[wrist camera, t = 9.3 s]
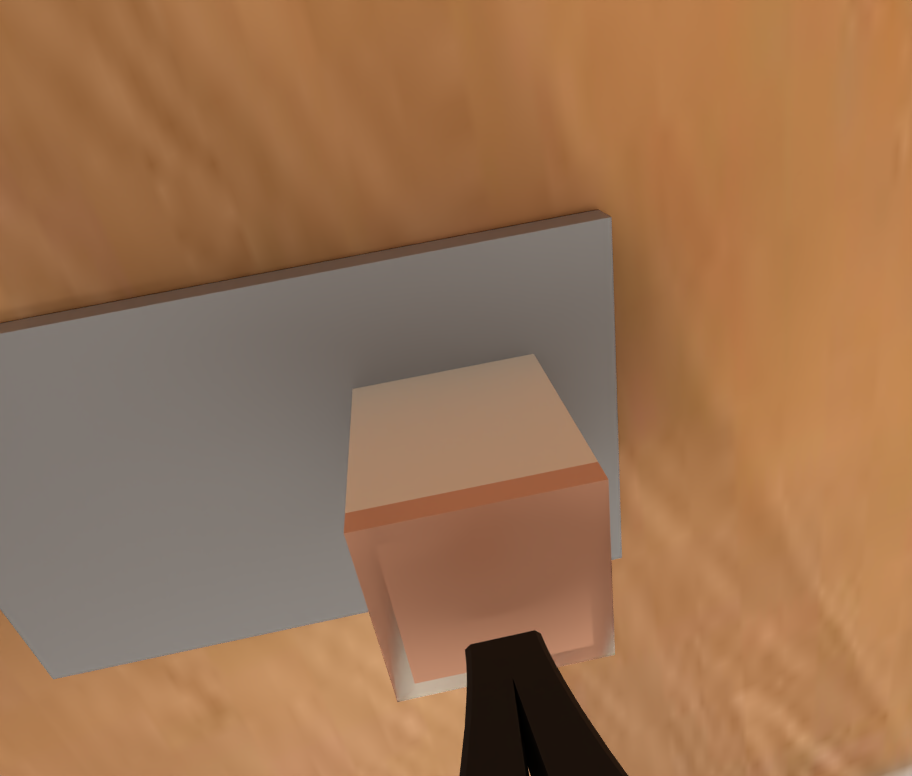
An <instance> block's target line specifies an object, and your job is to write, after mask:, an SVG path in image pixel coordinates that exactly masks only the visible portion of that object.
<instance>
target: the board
mask: <svg viewBox="0 0 912 776" xmlns="http://www.w3.org/2000/svg"><path fill="white" fill-rule="evenodd" d="M530 354H534V355H535V357H536V358H537V360H538V362H539V364H540V365H541V367H542V369H543V370H544V372H545V374H546V375H547V377H548V379H549V380H550V382H551V384H552V385H553V387H554V389H555V390H556V392H557V394H558V395H559V397H560V399H561V400H562V402H563V404H564V405H565V407H566V409H567V410H568V412H569V414H570V416H571V417H572V419H573V421H574V422H575V424H576V426H577V427H578V429H579V431H580V432H581V434H582V436H583V437H584V439H585V441H586V442H587V444H588V446H589V447H590V449H591V451H592V452H593V454H594V456H595V457H596V459H597V461H598V463H599V464H600V466H601V468H602V469H603V471H604V473H605V474H606V476H607V478H608V479H609V507H610V534H611V560H613V559H618V558H622V547H621V514H620V481H619V448H618V415H617V382H616V350H615V317H614V284H613V251H612V218H611V217H610V216H609V215H607V214H605V213H603V212H602V211H600V210H594V211H589V212H583V213H578V214H573V215H567V216H562V217H557V218H552V219H546V220H541V221H536V222H531V223H525V224H520V225H515V226H510V227H504V228H499V229H494V230H489V231H483V232H478V233H473V234H468V235H462V236H457V237H452V238H447V239H441V240H436V241H431V242H426V243H420V244H415V245H410V246H404V247H399V248H394V249H389V250H383V251H378V252H373V253H368V254H362V255H357V256H352V257H347V258H341V259H336V260H331V261H326V262H320V263H315V264H310V265H305V266H299V267H294V268H289V269H284V270H278V271H273V272H268V273H263V274H257V275H252V276H247V277H241V278H236V279H231V280H226V281H220V282H215V283H210V284H205V285H199V286H194V287H189V288H184V289H178V290H173V291H168V292H163V293H157V294H152V295H147V296H142V297H136V298H131V299H126V300H121V301H115V302H110V303H105V304H100V305H94V306H89V307H84V308H78V309H73V310H68V311H63V312H57V313H52V314H47V315H42V316H36V317H31V318H26V319H21V320H15V321H10V322H5V323H0V609H1V611H2V612H3V613H4V615H5V616H6V617H7V619H8V620H9V621H10V623H11V624H12V625H13V627H14V628H15V629H16V631H17V632H18V633H19V635H20V636H21V637H22V639H23V640H24V641H25V643H26V644H27V645H28V647H29V648H30V649H31V650H32V652H33V653H34V654H35V656H36V657H37V658H38V660H39V661H40V662H41V664H42V665H43V666H44V668H45V669H46V670H47V672H48V673H49V674H50V676H51V677H52V678H53V679H57V678H62V677H66V676H71V675H76V674H80V673H85V672H90V671H94V670H99V669H104V668H108V667H113V666H118V665H122V664H127V663H132V662H136V661H141V660H146V659H150V658H155V657H160V656H164V655H169V654H174V653H178V652H183V651H188V650H192V649H197V648H202V647H207V646H211V645H216V644H221V643H225V642H230V641H235V640H239V639H244V638H249V637H253V636H258V635H263V634H267V633H272V632H277V631H281V630H286V629H291V628H295V627H300V626H305V625H309V624H314V623H319V622H323V621H328V620H333V619H337V618H342V617H347V616H351V615H356V614H361V613H365V612H369V611H368V608H367V605H366V602H365V598H364V595H363V592H362V589H361V586H360V583H359V580H358V577H357V573H356V570H355V567H354V564H353V561H352V558H351V555H350V552H349V548H348V545H347V542H346V539H345V536H344V521H345V504H346V488H347V472H348V455H349V439H350V423H351V407H352V390H353V389H355V388H360V387H366V386H371V385H376V384H381V383H386V382H391V381H396V380H401V379H407V378H412V377H417V376H422V375H427V374H432V373H437V372H443V371H448V370H453V369H458V368H463V367H468V366H473V365H478V364H484V363H489V362H494V361H499V360H504V359H509V358H514V357H520V356H525V355H530Z"/></svg>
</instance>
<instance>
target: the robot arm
mask: <svg viewBox="0 0 912 776" xmlns="http://www.w3.org/2000/svg"><path fill="white" fill-rule="evenodd" d="M465 656H466V670H467V697H466V716H465V730H464V739H463V749H462V758H461V768H460V776H529V772H530V775H531V776H628V775H627V773H626V772H625V771H624V769H623V768H622V767H621V765H620V764H619V762H618V761H617V760H616V758H615V757H614V755H613V754H612V753H611V751H610V750H609V748H608V747H607V745H606V744H605V742H604V741H603V740H602V738H601V737H600V735H599V734H598V732H597V731H596V729H595V728H594V726H593V725H592V723H591V722H590V720H589V719H588V717H587V716H586V714H585V713H584V711H583V710H582V708H581V707H580V705H579V703H578V702H577V700H576V699H575V697H574V695H573V694H572V692H571V690H570V689H569V687H568V685H567V684H566V682H565V680H564V678H563V677H562V675H561V673H560V671H559V670H558V668H557V666H556V664H555V662H554V660H553V658H552V656H551V654H550V652H549V650H548V648H547V646H546V644H545V642H544V640H543V637H542V635H541V633H539V632H537V631H535V630H533V631H529V632H524V633H520V634H515V635H511V636H506V637H501V638H497V639H492V640H488V641H483V642H479V643H474V644H470V645H469V646H468V647H467V648H466V649H465ZM528 768H529V771H528Z"/></svg>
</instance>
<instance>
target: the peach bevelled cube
mask: <svg viewBox="0 0 912 776" xmlns="http://www.w3.org/2000/svg"><path fill="white" fill-rule="evenodd" d="M344 536H345V539H346V542H347V545H348V548H349V552H350V555H351V558H352V561H353V564H354V567H355V570H356V573H357V577H358V580H359V583H360V586H361V589H362V592H363V595H364V598H365V602H366V605H367V608H368V611H369V614H370V617H371V620H372V623H373V627H374V630H375V633H376V636H377V639H378V642H379V645H380V648H381V652H382V655H383V658H384V661H385V664H386V667H387V670H388V673H389V677H390V680H391V683H392V686H393V689H394V692H395V695H396V698H397V702H400V701H404V700H409V699H413V698H418V697H423V696H427V695H432V694H436V693H441V692H446V691H450V690H455V689H459V688H464V687H467V670H466V656H465V649H466V648H467V647H468V646H469V645H470V644H474V643H479V642H483V641H488V640H492V639H497V638H501V637H506V636H511V635H515V634H520V633H524V632H529V631H533V630H535V631H537V632H539V633H541V635H542V637H543V640H544V642H545V644H546V646H547V648H548V650H549V652H550V654H551V656H552V658H553V660H554V662H555V664H556V666H557V667H561V666H565V665H570V664H575V663H579V662H584V661H588V660H593V659H598V658H602V657H607V656H611V655H615V646H614V618H613V590H612V562H611V534H610V507H609V479H608V478H607V476H606V474H605V473H604V471H603V469H602V468H601V466H600V464H599V463H598V461H597V459H596V457H595V456H594V454H593V452H592V451H591V449H590V447H589V446H588V444H587V442H586V441H585V439H584V437H583V436H582V434H581V432H580V431H579V429H578V427H577V426H576V424H575V422H574V421H573V419H572V417H571V416H570V414H569V412H568V410H567V409H566V407H565V405H564V404H563V402H562V400H561V399H560V397H559V395H558V394H557V392H556V390H555V389H554V387H553V385H552V384H551V382H550V380H549V379H548V377H547V375H546V374H545V372H544V370H543V369H542V367H541V365H540V364H539V362H538V360H537V358H536V357H535V355H534V354H530V355H525V356H520V357H514V358H509V359H504V360H499V361H494V362H489V363H484V364H478V365H473V366H468V367H463V368H458V369H453V370H448V371H443V372H437V373H432V374H427V375H422V376H417V377H412V378H407V379H401V380H396V381H391V382H386V383H381V384H376V385H371V386H366V387H360V388H355V389H353V390H352V407H351V423H350V439H349V455H348V472H347V488H346V504H345V521H344Z"/></svg>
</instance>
